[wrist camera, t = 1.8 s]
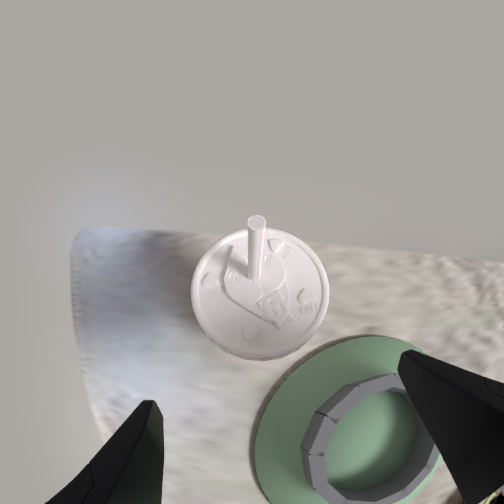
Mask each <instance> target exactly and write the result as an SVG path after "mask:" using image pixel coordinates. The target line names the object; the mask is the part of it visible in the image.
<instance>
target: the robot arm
mask: <svg viewBox="0 0 504 504" xmlns="http://www.w3.org/2000/svg"><path fill="white" fill-rule="evenodd" d="M397 371H398V374H399V376H400V379H401V381H402V383H403V385H404V387H405V389H406V392H407V394H408V396H409V398H410V400H411V402H412V404H413V406H414V408H415V409H416V411H417V413H418V415H419V416H420V418H421V420H422V421H423V423H424V425H425V427H426V428H427V430H428V432H429V434H430V436H431V437H432V439H433V441H434V443H435V445H436V446H437V448H438V450H439V452H440V454H441V456H442V458H443V460H444V461H445V463H446V465H447V467H448V469H449V471H450V473H451V475H452V477H453V479H454V481H455V483H456V485H457V487H458V490H459V492H460V494H461V496H462V498H463V500H464V502H465V504H479V503H480V502H482V501H483V500H484V499H486V498H487V497H489V496H490V495H491V494H493V493H494V492H495V491H497V490H498V489H499V490H500V493H498V494H497V495H496V496H495V497H494V498H493V499H492V500H491V501H490V504H504V383H501V382H498V381H495V380H492V379H489V378H486V377H483V376H481V375H478V374H475V373H472V372H470V371H467V370H464V369H462V368H459V367H456V366H454V365H451V364H449V363H446V362H443V361H441V360H438V359H436V358H433V357H430V356H428V355H425V354H423V353H420V352H418V351H415V350H413V349H409V350H406V351H404V352H402V353H401V356H400V360H399V363H398V367H397ZM163 467H164V431H163V416H162V413H161V411H160V409H159V407H158V406H157V404H156V402H155V401H154V400H143V401H142V402H141V403H140V404H139V405H138V407H137V408H136V409H135V410H134V411H133V412H132V414H131V415H130V416H129V417H128V418H127V419H126V421H125V422H124V423H123V424H122V425H121V426H120V427H119V429H118V430H117V431H116V432H115V433H114V434H113V436H112V437H111V438H110V439H109V440H108V441H107V442H106V444H105V445H104V446H103V447H102V448H101V449H100V451H99V452H98V453H97V454H96V455H95V456H94V457H93V459H92V460H91V461H90V462H89V464H87V465H86V466H85V468H84V469H83V470H82V471H81V472H80V473H79V474H78V475H77V476H76V477H75V478H74V479H73V480H72V481H71V482H70V483H69V484H68V485H67V486H65V487H64V488H63V489H62V490H61V491H60V492H59V493H57V494H56V495H55V496H54V497H53V498H51V499H50V500H49V501H48V502H46V503H45V504H161V500H162V482H163Z"/></svg>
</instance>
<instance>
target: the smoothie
mask: <svg viewBox="0 0 504 504" xmlns="http://www.w3.org/2000/svg"><path fill="white" fill-rule="evenodd" d="M265 226H266V221H265V219H264V218H263V217H261V216H258V215H255V216H252V217H250V218H249V220H248V229H243V230H239V231H236V232H233V233H231V234H228V235H226V236H224V237H223V238H221V239H219V240H218V241H217V242H215V243H214V244H213V245H212V246H211V247H210V248H209V249H208V250H207V251H206V252H205V253H204V255H203V256H202V257H201V259H200V260H199V262H198V264H197V266H196V269H195V271H194V274H193V278H192V283H191V301H192V306H193V310H194V313H195V315H196V318H197V320H198V322H199V324H200V327H201V329H202V330H203V331H204V332H205V334H206V335H207V336H208V338H209V339H210V340H211V341H212V342H213V343H214V344H215V345H217V346H218V347H219V348H221V349H222V350H224V351H225V352H226V353H229V354H231V355H234V356H236V357H239V358H242V359H245V360H255V361H267V360H273V359H278V358H283V357H285V356H287V355H289V354H291V353H293V352H295V351H297V350H299V349H300V348H301V347H302V346H303V345H304V344H306V343H307V342H308V341H309V340H310V339H311V338H312V337H313V335H314V334H315V332H316V331H317V329H318V328H319V327H320V325H321V323H322V321H323V319H324V317H325V315H326V311H327V308H328V303H329V284H328V279H327V275H326V272H325V270H324V267H323V265H322V263H321V262H320V260H319V258H318V257H317V256H316V254H315V253H314V252H313V251H312V250H311V249H310V248H309V247H308V246H307V245H306V244H305V243H304V242H302V241H301V240H299V239H298V238H296V237H294V236H292V235H290V234H288V233H286V232H282V231H280V230H275V229H270V228H265Z"/></svg>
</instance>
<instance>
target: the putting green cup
mask: <svg viewBox="0 0 504 504" xmlns="http://www.w3.org/2000/svg"><path fill="white" fill-rule="evenodd" d="M409 349H413V350H415V351H418V352H420V353H423V354H425V353H424V352H423V351H422V350H420V349H419V348H417V347H415V346H414V345H412V344H410V343H407V342H405V341H402V340H399V339H395V338H391V337H381V336H372V337H361V338H356V339H351V340H348V341H344V342H341V343H338V344H336V345H334V346H332V347H329V348H327V349H325V350H323V351H321V352H320V353H318V354H316V355H315V356H313V357H311V358H310V359H309V360H307V361H306V362H305V363H303V364H302V365H301V366H299V367H298V368H297V369H296V370H295V371H294V372H293V373H292V374H291V375H290V376H289V377H288V378H287V379H286V380H285V381H284V383H283V384H282V385H281V386H280V387H279V388H278V390H277V391H276V393H275V394H274V396H273V397H272V399H271V400H270V402H269V404H268V406H267V408H266V410H265V412H264V413H263V416H262V419H261V421H260V424H259V427H258V431H257V435H256V440H255V451H254V458H255V469H256V473H257V477H258V481H259V483H260V486H261V488H262V490H263V492H264V494H265V495H266V497H267V498H268V500H269V501H270V502H271V504H406V503H407V502H408V501H410V500H411V499H412V498H413V497H414V496H415V495H416V494H417V493H418V492H419V491H420V490H421V489H422V488H423V487H424V486H425V484H426V483H427V482H428V481H429V479H430V478H431V477H432V475H433V474H434V472H435V471H436V469H437V467H438V465H439V464H440V462H441V460H442V456H441V454H440V452H439V450H438V448H437V446H436V445H435V443H434V441H433V439H432V437H431V436H430V434H429V432H428V430H427V428H426V427H425V425H424V423H423V421H422V420H421V418H420V416H419V415H418V413H417V411H416V409H415V408H414V406H413V404H412V402H411V400H410V398H409V396H408V394H407V392H406V389H405V387H404V385H403V383H402V381H401V379H400V376H399V374H398V371H397V367H398V363H399V360H400V356H401V353H402V352H404V351H406V350H409ZM425 355H427V354H425Z"/></svg>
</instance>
